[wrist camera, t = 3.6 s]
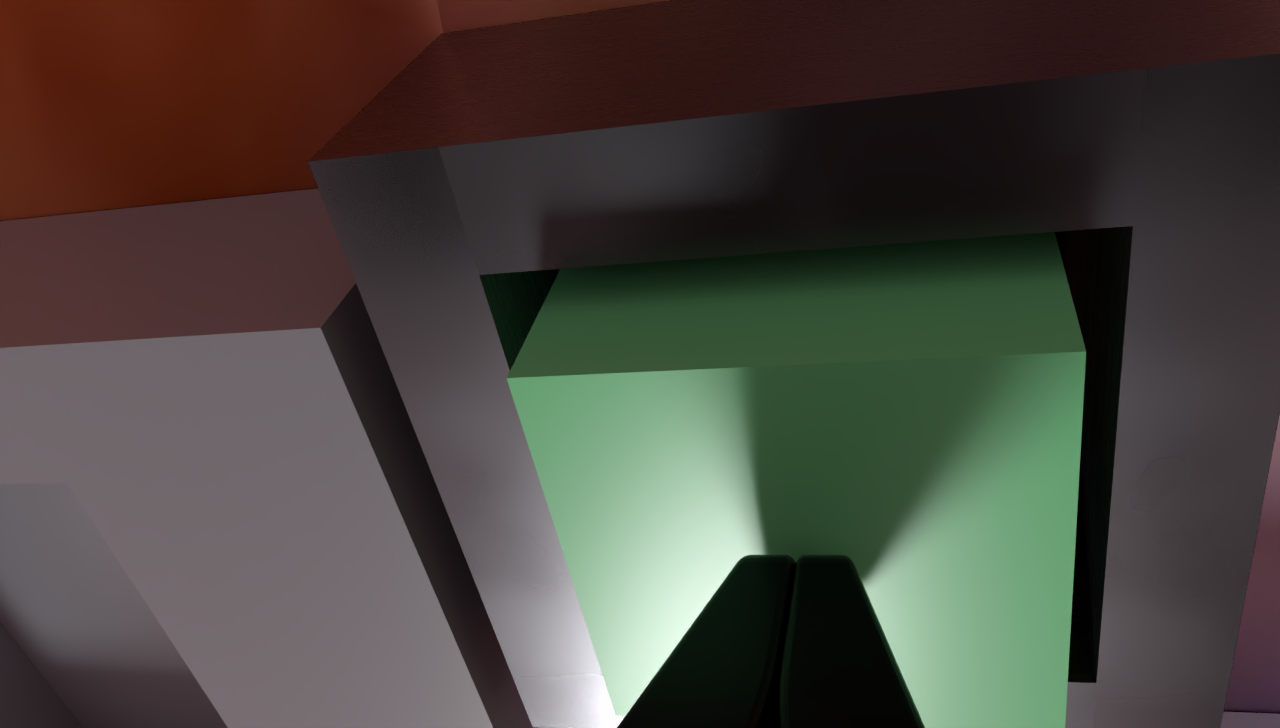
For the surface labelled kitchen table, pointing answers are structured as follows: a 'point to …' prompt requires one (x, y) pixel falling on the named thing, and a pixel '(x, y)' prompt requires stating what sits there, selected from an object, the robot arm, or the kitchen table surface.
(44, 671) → the pallet
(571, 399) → the green cube
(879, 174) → the housing
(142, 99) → the kitchen table surface
